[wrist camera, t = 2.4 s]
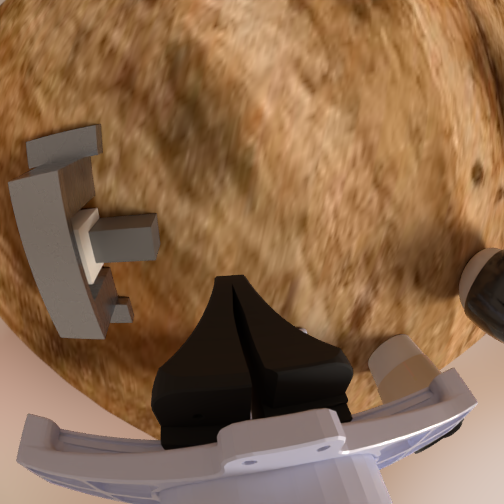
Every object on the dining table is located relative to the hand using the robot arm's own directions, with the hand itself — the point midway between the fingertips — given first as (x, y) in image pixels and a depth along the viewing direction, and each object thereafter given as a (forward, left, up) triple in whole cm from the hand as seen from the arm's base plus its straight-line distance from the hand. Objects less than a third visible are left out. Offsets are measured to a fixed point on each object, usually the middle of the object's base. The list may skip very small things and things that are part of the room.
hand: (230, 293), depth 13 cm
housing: (+11, 0, -8) cm, 14 cm away
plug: (+9, 0, -8) cm, 12 cm away
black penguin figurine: (-33, +7, -8) cm, 34 cm away
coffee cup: (-22, +19, -8) cm, 30 cm away
